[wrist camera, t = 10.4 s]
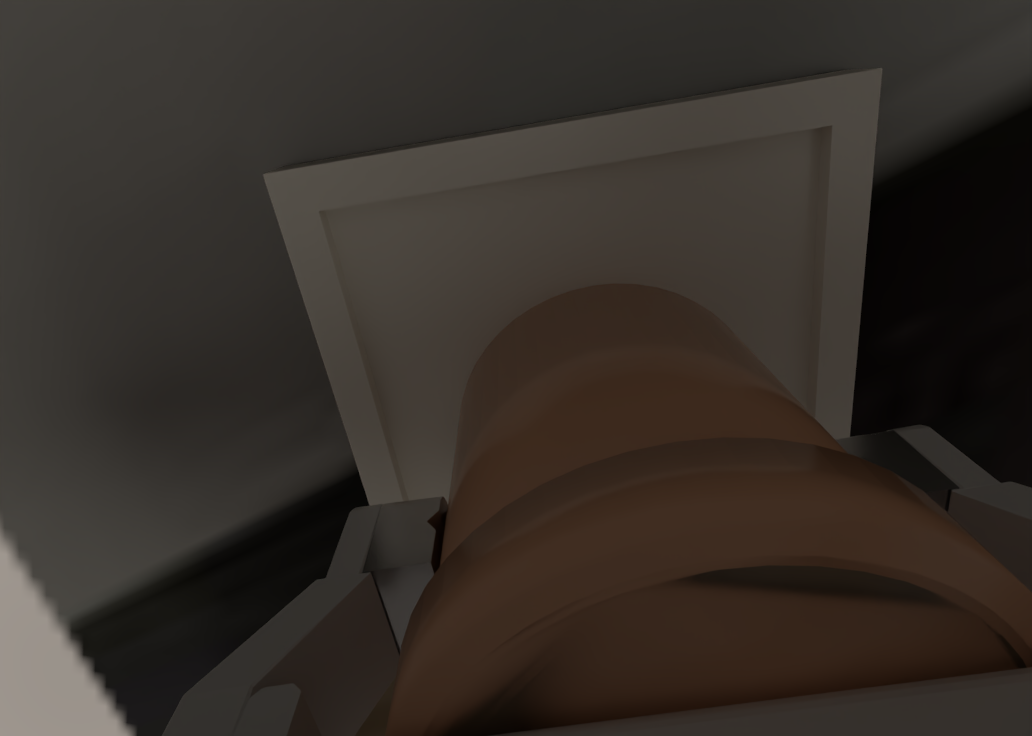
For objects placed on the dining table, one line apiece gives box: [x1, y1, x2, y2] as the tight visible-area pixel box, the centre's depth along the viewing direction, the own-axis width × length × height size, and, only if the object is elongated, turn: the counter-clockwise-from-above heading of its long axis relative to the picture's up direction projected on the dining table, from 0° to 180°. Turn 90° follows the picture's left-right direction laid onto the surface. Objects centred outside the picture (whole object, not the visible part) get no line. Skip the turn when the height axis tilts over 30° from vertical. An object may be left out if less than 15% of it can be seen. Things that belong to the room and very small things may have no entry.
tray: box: [263, 68, 883, 506], centre depth 14 cm, size 11×11×1 cm
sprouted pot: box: [385, 283, 1032, 736], centre depth 8 cm, size 7×7×10 cm
